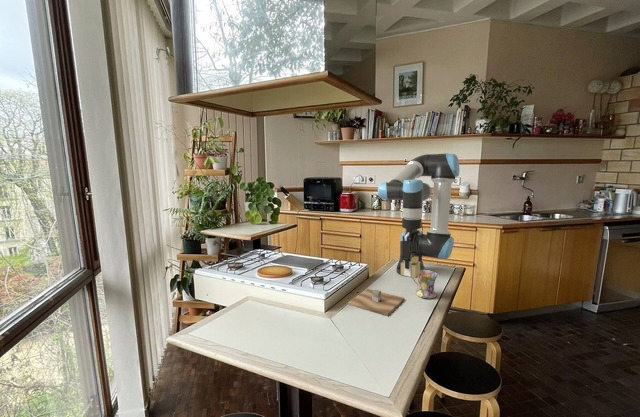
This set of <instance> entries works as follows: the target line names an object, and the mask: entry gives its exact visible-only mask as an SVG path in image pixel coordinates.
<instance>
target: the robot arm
mask: <svg viewBox="0 0 640 417" xmlns="http://www.w3.org/2000/svg"><path fill="white" fill-rule="evenodd" d="M459 176H460V161H459V158H458V155H456V154H455V153H432V154H429V153H428V154H426V153H425V154H422V155H419V156H417V157H415V158H413V159H411V160H410V161H409V162H408V163H406V165H405V166H404V168H403V169H402V170H401V171H400V172H399V173H398V174H397V175H395V176H393V178H392V179H391V180H390V181H389V182H388V181H387V182H380V183H379V184H378V187H377V196H378V197H379V199H381V200H382V199H383V200H387V201H388V200H395V201H396V200H399V201H402V209H401V212H402V220H401V227H402V228H403V229H405V230H404V231H403V232H401V234H400V240H399V245H400V246H399V259H398V263H397V265H396V273H397V274H398V275H401V263H402V262H403V260H404V275H401V276H404V277H409V278H412V277H411V263H412V261H411V254H412V255H417V256H418V257H419V258H418V261H419V262H420V270H426V269H425V265H424V261H423V257H427V258H433V259H438V260H448V259H449V258H450V256H452V252H453V249H454V244H455V242H454V241H455V239H454V237H453V236H451V235H452V234H451V232H450V231H449V223H450V222H449V220H450V206H451V195H452V184H453V183H454V182H455V181H456V178H457V177H459ZM420 177H430V180H431V182H433V187H431V185H429V184H428V183H426V182H423V180H422V179H419V178H420ZM432 188H433V190H432ZM431 196H432V202H431V213H430V214H431V215H430V228H429V229H428V230H427V231H426V234H425V233H424V231H423V230H420V229H421V228H422V222H423V220H422V217H423V202H424V201H426V200H428V199H429V198H430V197H431ZM415 278H417V276H416V277H415Z"/></svg>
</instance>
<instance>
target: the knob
mask: <svg viewBox="0 0 640 417" xmlns="http://www.w3.org/2000/svg"><path fill="white" fill-rule="evenodd" d="M418 258H419V257H418V256H417V255H412V254H411V261H412V263H411V277H410V278H412V277H413V278H414V279H416V278H417V277H416V276H418V275H419V274H420V262H419V261H418ZM403 275H404V260H403V262H402V263H401V276H403Z"/></svg>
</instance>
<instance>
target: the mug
mask: <svg viewBox="0 0 640 417" xmlns="http://www.w3.org/2000/svg"><path fill="white" fill-rule="evenodd" d="M411 278H412V280H413V282H414V283H415V284H416V285H417V286H416V287H417V290H416V291H415V294H416V296H418V297H419V298H422V299H433V298H435V297H436V296H437V294H436V291H435V282H436V279H437V278H438V273H437V272H435V271H433V270H428V269H425V270H420V274H419V275H418V276H417V277H416V278H417V281H418V282H417V281H416V279H415V278H414V277H411Z"/></svg>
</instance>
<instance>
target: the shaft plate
mask: <svg viewBox="0 0 640 417" xmlns="http://www.w3.org/2000/svg"><path fill="white" fill-rule="evenodd" d="M404 301H405V297H403V296H399V295H394V294H390V293H387V292H383V291H382V290H378V289H371V288H366V289H365V290H364V291H362V292H360V293H359V294H358V295H356V296H355V297H353V298H352V299H351V300H349V301H348V302H347V305H348V306H351V307H355V308H357V309H361V310H365V311H367V312H368V311H369V312H372V313H376V314H378V315H382V316H386V317H388V316H390V315H391V314H392V313H393V312H394V311H395V310H396V309H397V308H398V307H400V305H401V304H402V303H403V302H404Z"/></svg>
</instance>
